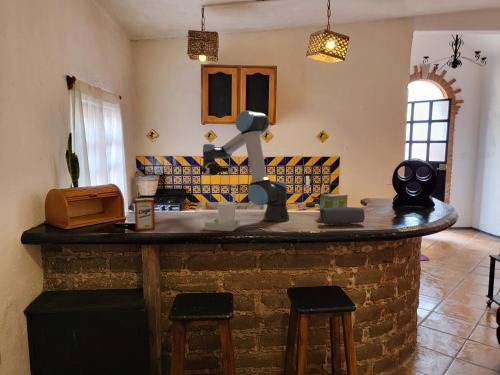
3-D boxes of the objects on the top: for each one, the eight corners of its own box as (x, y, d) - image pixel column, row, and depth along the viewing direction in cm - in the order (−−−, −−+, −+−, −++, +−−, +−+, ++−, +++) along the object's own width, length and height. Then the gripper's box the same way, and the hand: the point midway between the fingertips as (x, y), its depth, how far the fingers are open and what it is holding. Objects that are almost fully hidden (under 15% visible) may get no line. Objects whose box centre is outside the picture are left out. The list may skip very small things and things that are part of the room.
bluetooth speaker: (357, 222, 207) (357, 205, 206) (364, 226, 198) (365, 208, 197) (319, 224, 203) (319, 206, 202) (325, 227, 194) (326, 209, 193)
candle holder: (214, 226, 190) (214, 204, 189) (221, 223, 200) (221, 201, 199) (232, 227, 187) (232, 204, 186) (238, 224, 197) (238, 202, 196)
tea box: (332, 220, 212) (333, 196, 211) (319, 218, 220) (319, 194, 218) (347, 218, 222) (347, 194, 221) (333, 215, 230) (334, 192, 228)
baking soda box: (135, 230, 183) (134, 199, 181) (135, 228, 189) (134, 198, 187) (154, 229, 185) (154, 199, 184) (154, 227, 192) (153, 197, 190)
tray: (240, 225, 197) (240, 219, 197) (232, 231, 183) (232, 224, 183) (214, 224, 201) (214, 217, 201) (204, 229, 186) (204, 222, 186)
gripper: (231, 174, 226) (241, 176, 206) (192, 175, 219) (198, 177, 199) (231, 162, 226) (241, 163, 206) (192, 163, 218) (198, 163, 198)
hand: (220, 170), depth 202 cm, fingers open, 13 cm apart
